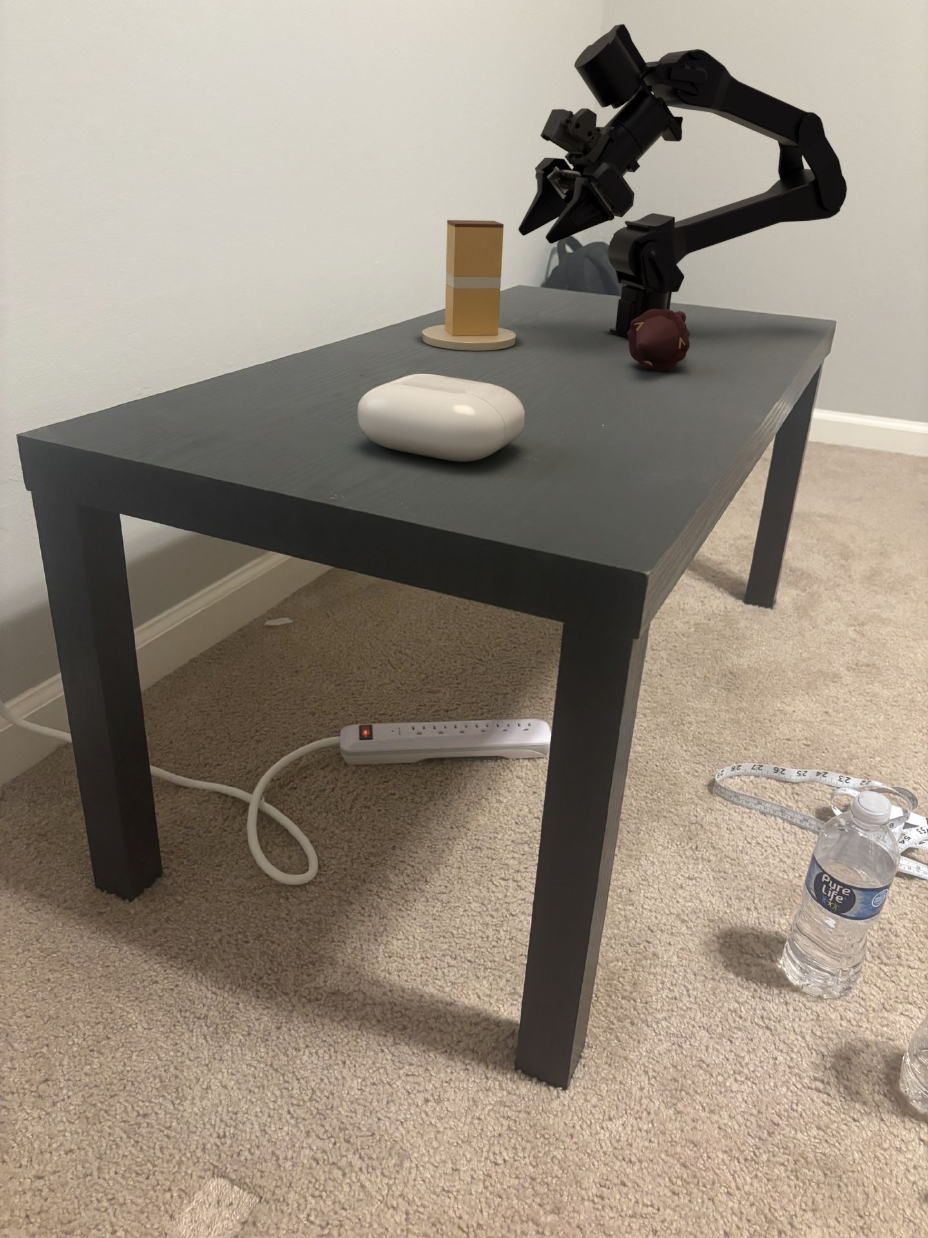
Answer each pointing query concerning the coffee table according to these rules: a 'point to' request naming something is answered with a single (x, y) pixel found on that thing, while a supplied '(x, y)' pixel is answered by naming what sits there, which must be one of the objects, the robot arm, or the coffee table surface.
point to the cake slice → (473, 277)
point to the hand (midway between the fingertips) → (533, 236)
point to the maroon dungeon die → (659, 339)
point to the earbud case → (441, 417)
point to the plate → (468, 339)
